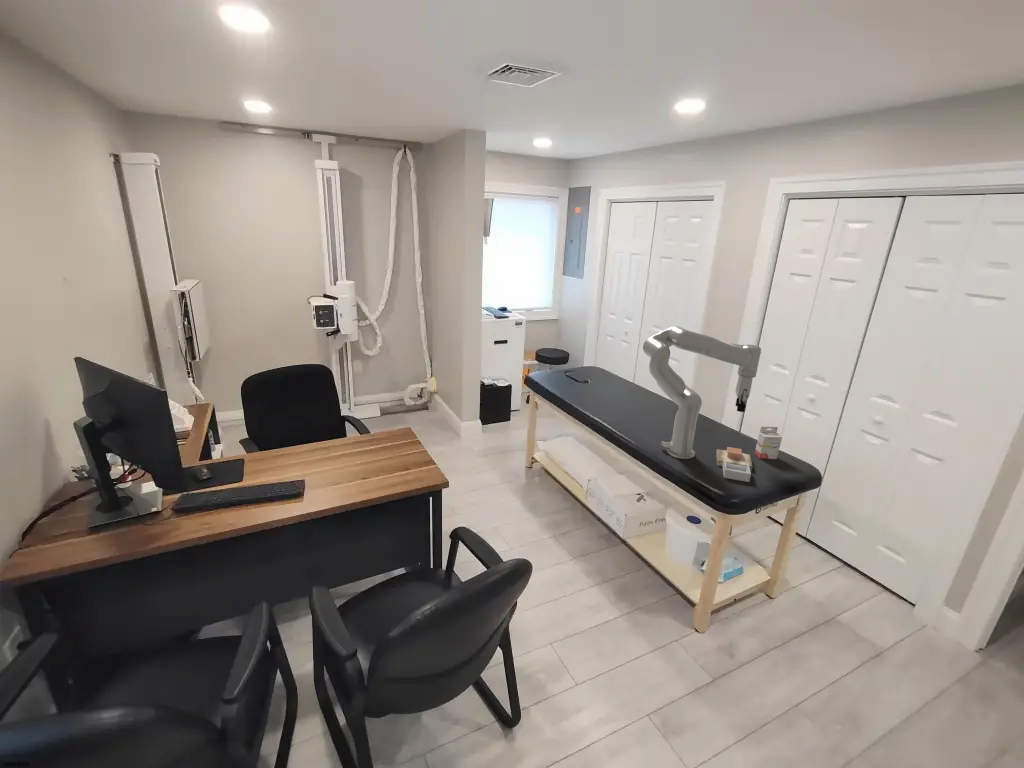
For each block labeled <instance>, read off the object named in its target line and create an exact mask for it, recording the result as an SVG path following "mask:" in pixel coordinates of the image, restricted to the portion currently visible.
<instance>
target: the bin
mask: <svg viewBox="0 0 1024 768" xmlns="http://www.w3.org/2000/svg"><path fill="white" fill-rule="evenodd" d="M721 467H722V468H721V469H722V474H723V478H724V479H731V480H734V481H735V480H736V481H739V482H740V481H741V482H747V483H750V481H751V476H752V471H750V468H749V464H747V467H746V466H740V465H734V464H728V463H725V460H724V461H723V466H721Z"/></svg>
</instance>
